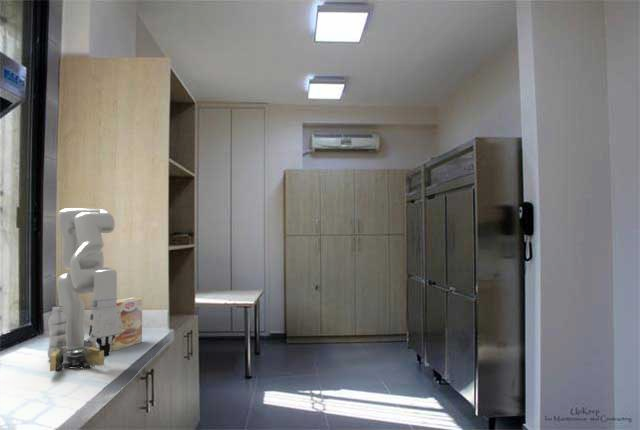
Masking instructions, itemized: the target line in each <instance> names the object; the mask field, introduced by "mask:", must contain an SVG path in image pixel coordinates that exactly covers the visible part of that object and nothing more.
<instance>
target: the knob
mask: <svg viewBox="0 0 640 430" xmlns="http://www.w3.org/2000/svg"><path fill="white" fill-rule="evenodd" d="M89 338H90V336H88V337H87V338H86V339H84V347H85V346H91V347H93V348H96V346H97V342H91V341H89Z"/></svg>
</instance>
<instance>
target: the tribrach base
mask: <svg viewBox="0 0 640 430" xmlns="http://www.w3.org/2000/svg"><path fill="white" fill-rule="evenodd" d="M82 356H83V349H82V348H80V349H74V350H71V351H68V352H67V353H65V354H63V363H62V370H67V368H68V369H71V368H70V367H77V368H80V367H83V362H82ZM64 362H65V363H64Z"/></svg>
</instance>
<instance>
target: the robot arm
mask: <svg viewBox="0 0 640 430" xmlns="http://www.w3.org/2000/svg"><path fill="white" fill-rule="evenodd" d="M57 223H58V224H57V225H58V228H59V230H60V232H61V240H62V241H61V265H62V267H63V268H64V269H65V270H69V272H66V273H62V274H61V275H59V276H58V277H57V279H56V288H57V294H58V306H63V307H64V308H63V310H64V311H63V313H64V314H65V316H66V317H67V326H66V345H67V350H68V351H75V350H79V349H83V347H84V340H85V313H86V312H85V310H86V309H85V302H84V301H83V300H82V299H81V298H80V296H79V295H85V294H93V299H92V302H90V303H89V306H90V307H92V309H91V311H90V313H89V314H90V315H89V319H88V320H89V322H88V338H89V337H90V338H89V341H91V342H96V344H98V345H99V348H98V349H101V350H104V358H106V357H108V356H110V352H111V350H110V344H111V343H112V340H113V339H114V338H115V337H118V336H119V335H120V333H121V331H122V323H121V314H120V309H119V306H117V300H118V292H117V290H118V284H117V283H118V273H117V270H115V269H113V268H112V267H104V252H103V250H102V249H103V248H104V245H105V244H104V241H103V236H102V234H110V233H112V232H113V231H114V229H115V227H116V226H115V223H116V222H115V218H114V216H113V214H111V213H110V212H109V211H107V210H105V209H101V208H85V207H84V208H82V207H70V208H63V209H61V210H59V212H58V215H57Z"/></svg>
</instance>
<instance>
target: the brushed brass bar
mask: <svg viewBox="0 0 640 430" xmlns="http://www.w3.org/2000/svg"><path fill="white" fill-rule="evenodd" d="M62 364H64V361H63V348H56V349H54V352H53V353H52V355H51V356H50V359H49V365H50V366H49V372H54V371H55V372H60V371H63V369H62Z"/></svg>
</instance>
